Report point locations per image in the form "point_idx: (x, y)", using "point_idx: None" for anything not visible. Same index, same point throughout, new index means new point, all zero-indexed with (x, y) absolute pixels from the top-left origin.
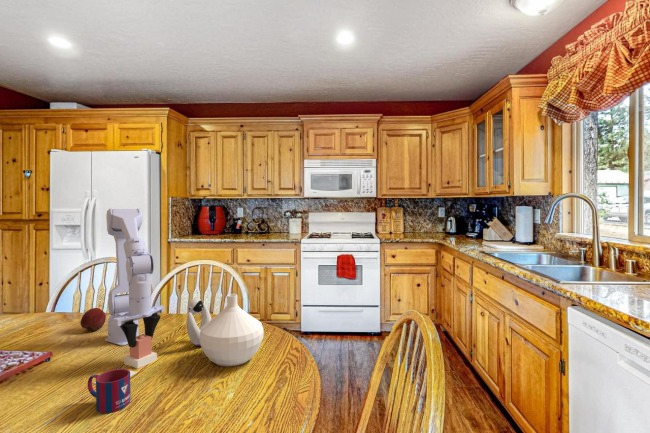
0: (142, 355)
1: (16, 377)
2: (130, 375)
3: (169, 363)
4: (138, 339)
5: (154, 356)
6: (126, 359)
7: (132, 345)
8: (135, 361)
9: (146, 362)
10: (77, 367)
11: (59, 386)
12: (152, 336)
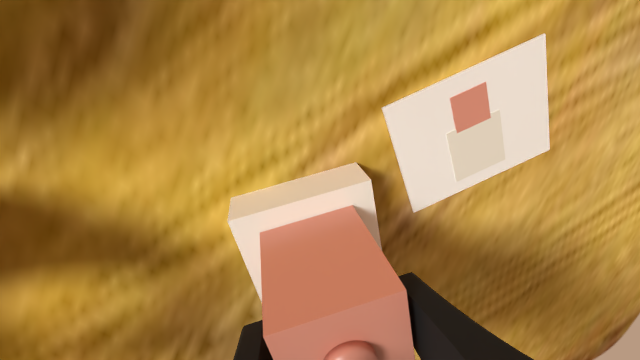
0: (330, 218)
1: (598, 348)
2: (425, 95)
3: (179, 83)
4: (382, 334)
5: (246, 207)
6: None
7: (424, 286)
8: (370, 196)
9: (303, 182)
10: (489, 325)
11: (603, 213)
12: (240, 354)
